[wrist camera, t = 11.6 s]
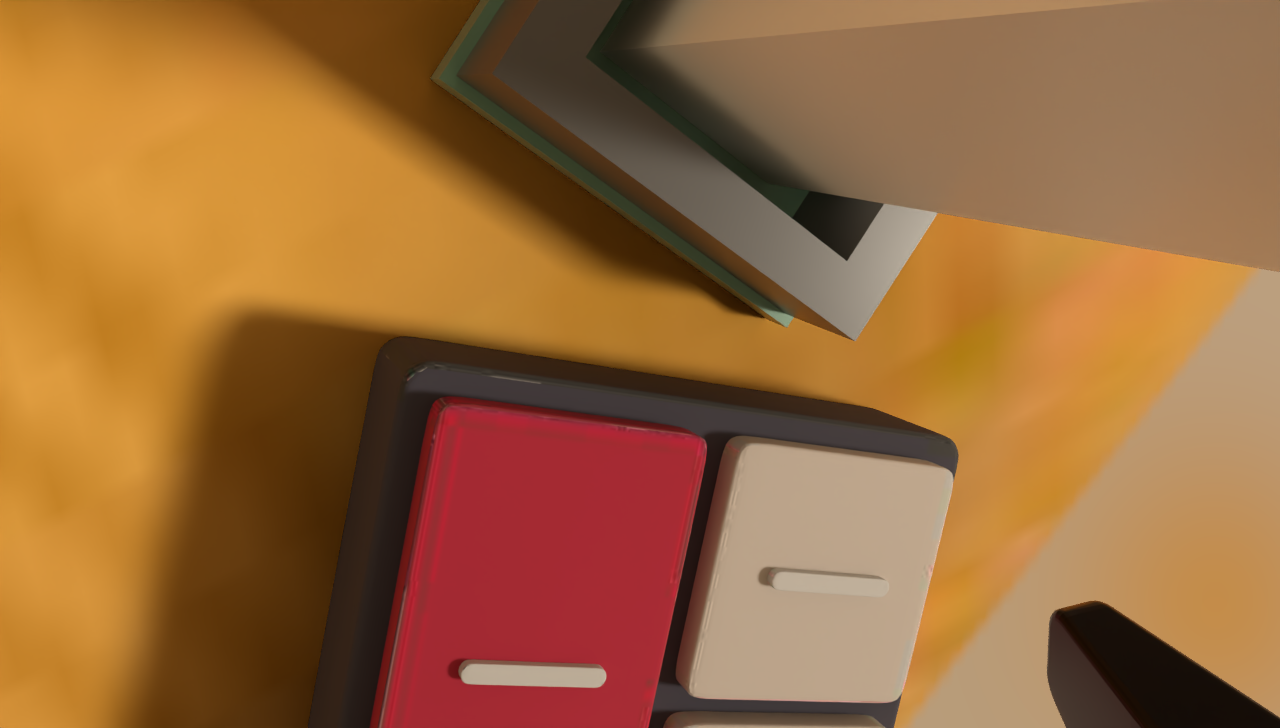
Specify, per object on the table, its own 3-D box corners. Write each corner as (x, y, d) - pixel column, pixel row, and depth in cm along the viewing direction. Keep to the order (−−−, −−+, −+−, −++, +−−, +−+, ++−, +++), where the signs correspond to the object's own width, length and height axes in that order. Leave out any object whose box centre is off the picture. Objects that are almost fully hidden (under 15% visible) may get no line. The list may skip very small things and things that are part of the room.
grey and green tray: (767, 319, 22) (856, 356, 19) (429, 78, 18) (472, 77, 15) (984, -18, 22) (1108, -34, 19) (686, -321, 18) (780, -403, 15)
